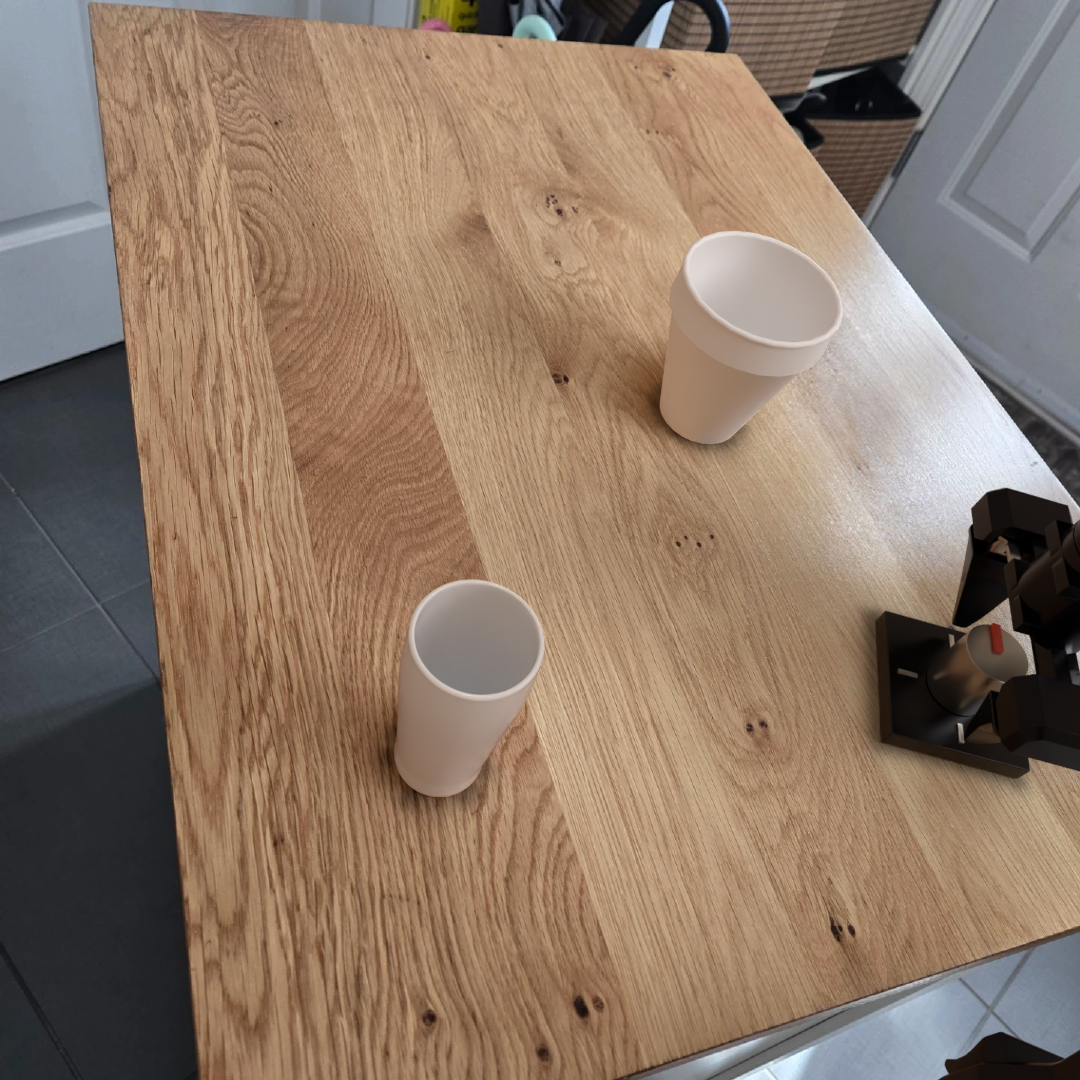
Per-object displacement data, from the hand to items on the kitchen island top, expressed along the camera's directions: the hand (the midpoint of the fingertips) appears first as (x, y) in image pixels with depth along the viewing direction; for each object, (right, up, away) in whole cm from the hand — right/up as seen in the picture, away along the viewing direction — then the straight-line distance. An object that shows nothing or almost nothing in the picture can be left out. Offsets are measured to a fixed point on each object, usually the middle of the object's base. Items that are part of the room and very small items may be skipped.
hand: (964, 680), depth 67 cm
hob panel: (-1, -1, +2) cm, 3 cm away
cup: (-16, +20, +14) cm, 29 cm away
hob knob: (0, -1, +1) cm, 1 cm away
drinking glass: (-35, -3, -8) cm, 37 cm away
